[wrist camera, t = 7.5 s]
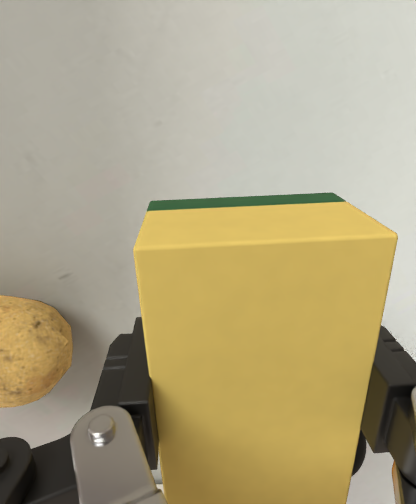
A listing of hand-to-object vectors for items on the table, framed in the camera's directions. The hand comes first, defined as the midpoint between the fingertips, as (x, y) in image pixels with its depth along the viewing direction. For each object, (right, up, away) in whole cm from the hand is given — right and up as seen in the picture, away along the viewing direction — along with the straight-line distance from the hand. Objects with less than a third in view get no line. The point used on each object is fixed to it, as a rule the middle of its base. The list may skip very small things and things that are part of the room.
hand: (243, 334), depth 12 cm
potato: (-15, -2, +13) cm, 20 cm away
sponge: (0, 0, +1) cm, 1 cm away
